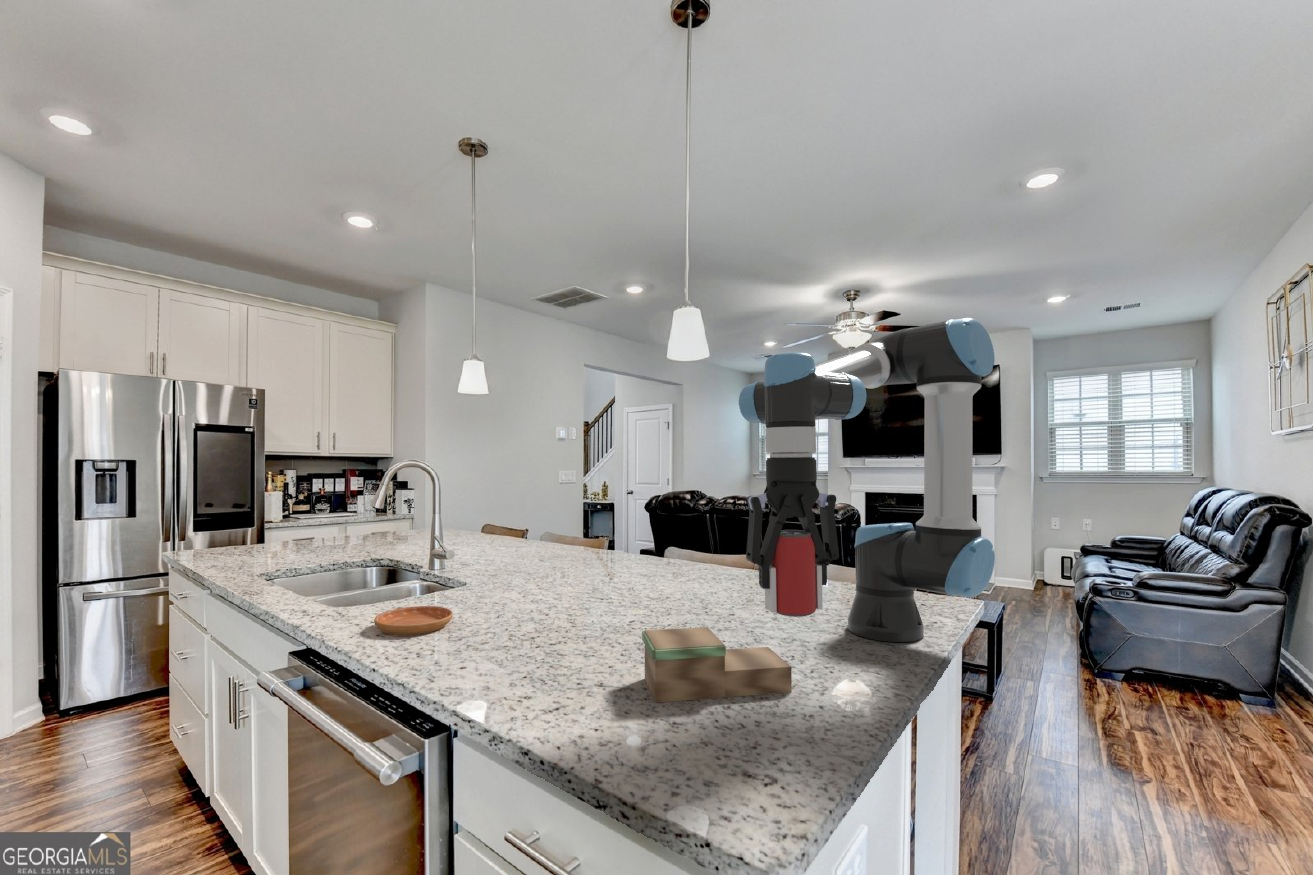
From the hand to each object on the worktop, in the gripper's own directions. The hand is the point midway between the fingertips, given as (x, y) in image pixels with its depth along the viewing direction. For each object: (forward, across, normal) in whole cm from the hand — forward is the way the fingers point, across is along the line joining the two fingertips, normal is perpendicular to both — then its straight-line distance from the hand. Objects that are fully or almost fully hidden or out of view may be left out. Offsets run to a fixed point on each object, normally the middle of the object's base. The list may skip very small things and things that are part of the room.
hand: (793, 608), depth 88 cm
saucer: (+14, +66, -54) cm, 86 cm away
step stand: (+14, +10, -10) cm, 20 cm away
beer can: (+1, 0, 0) cm, 1 cm away
